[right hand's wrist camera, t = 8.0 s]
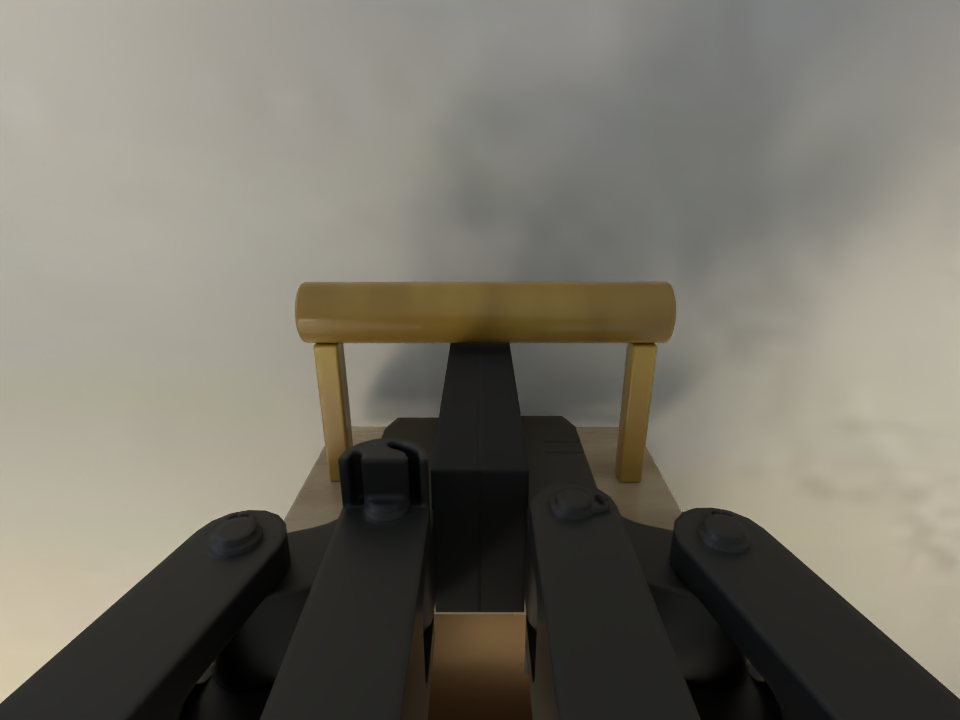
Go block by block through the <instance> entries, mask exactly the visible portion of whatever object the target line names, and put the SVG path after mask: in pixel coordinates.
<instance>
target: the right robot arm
mask: <svg viewBox="0 0 960 720" xmlns="http://www.w3.org/2000/svg"><path fill="white" fill-rule="evenodd" d="M338 464H339V474H340V484H341V494H342V503H343V508H342V510H341V513H340V515H339V518H338V519H336V520H334V521H332V522H329V523H327V524H324V525H320V526H317V527H313V528H308V529H303V530H298V531H294V532H289V533H287V528H286V523H285V522H284V521H283V520H282V519H281V517H280V516H279V515H276V514H273V513H271V512H268V511H257V510H247V511H241V512H236V513H232V514H228V515H226V516H223V517H221V518H218V519H216V520H213V521H211V522H210V523H208V524H207V525H205V526H204V527H202V528H201V529H199V530H198V531H197V532H195V533H194V534H193V535H192V536H191V537H190V538H189V539H187V540H186V541H185V542H184V543H183V544H182V545H181V546H179V547H178V548H177V549H176V550H175V551H174V552H173V553H171V554H170V555H169V556H168V557H167V558H166V559H165V560H163V561H162V562H161V563H160V564H159V565H158V566H157V567H156V568H154V569H153V570H152V571H151V572H150V573H149V574H148V575H146V576H145V577H144V578H143V579H142V580H141V581H140V582H138V583H137V584H136V585H135V586H134V587H133V588H132V589H130V590H129V591H128V592H127V593H126V594H125V595H124V596H122V597H121V598H120V599H119V600H118V601H117V602H116V603H114V604H113V605H112V606H111V607H110V608H109V609H108V610H107V611H105V612H104V613H103V614H102V615H101V616H100V617H99V618H97V619H96V620H95V621H94V622H93V623H92V624H91V625H89V626H88V627H87V628H86V629H85V630H84V631H83V632H81V633H80V634H79V635H78V636H77V637H76V638H75V639H73V640H72V641H71V642H70V643H69V644H68V645H67V646H66V647H64V648H63V649H62V650H61V651H60V652H59V653H58V654H56V655H55V656H54V657H53V658H52V659H51V660H50V661H48V662H47V663H46V664H45V665H44V666H43V667H42V668H40V669H39V670H38V671H37V672H36V673H35V674H34V675H32V676H31V677H30V678H29V679H28V680H27V681H26V682H25V683H23V684H22V685H21V686H20V687H19V688H18V689H17V690H15V691H14V692H13V693H12V694H11V695H10V696H9V697H7V698H6V699H5V700H4V701H3V702H2V703H1V704H0V720H427V719H428V708H429V697H430V686H431V676H432V665H433V654H434V643H435V630H434V609H435V607H436V612H524V608H525V606H526V630H525V657H524V675H529V686H530V697H531V708H532V718H533V720H960V699H959V698H958V697H957V696H955V695H954V694H953V693H952V692H951V691H950V690H949V689H947V688H946V687H945V686H944V685H943V684H942V683H940V682H939V681H938V680H937V679H936V678H935V677H934V676H932V675H931V674H930V673H929V672H928V671H927V670H926V669H924V668H923V667H922V666H921V665H920V664H919V663H918V662H916V661H915V660H914V659H913V658H912V657H911V656H909V655H908V654H907V653H906V652H905V651H904V650H903V649H901V648H900V647H899V646H898V645H897V644H896V643H895V642H893V641H892V640H891V639H890V638H889V637H888V636H886V635H885V634H884V633H883V632H882V631H881V630H880V629H878V628H877V627H876V626H875V625H874V624H873V623H872V622H870V621H869V620H868V619H867V618H866V617H865V616H864V615H862V614H861V613H860V612H859V611H858V610H857V609H855V608H854V607H853V606H852V605H851V604H850V603H849V602H847V601H846V600H845V599H844V598H843V597H842V596H841V595H839V594H838V593H837V592H836V591H835V590H834V589H833V588H831V587H830V586H829V585H828V584H827V583H826V582H824V581H823V580H822V579H821V578H820V577H819V576H818V575H816V574H815V573H814V572H813V571H812V570H811V569H810V568H808V567H807V566H806V565H805V564H804V563H803V562H802V561H800V560H799V559H798V558H797V557H796V556H795V555H793V554H792V553H791V552H790V551H789V550H788V549H787V548H785V547H784V546H783V545H782V544H781V543H780V542H779V541H777V540H776V539H775V538H774V537H773V536H772V535H770V534H769V533H768V532H767V531H766V530H765V529H763V528H762V527H761V526H759V525H758V524H756V523H755V522H753V521H752V520H750V519H748V518H746V517H743V516H741V515H738V514H736V513H733V512H731V511H727V510H723V509H722V510H721V509H716V508H694V509H691V510H688V511H686V512H683V513H681V514H680V515H679V517H678V518H677V519H676V520H675V522H674V529H673V530H668V529H663V528H659V527H654V526H649V525H645V524H641V523H638V522H634V521H632V520H629V519H627V518H625V517H622V516H621V515H620V512H619V510H618V507H617V505H616V504H615V503H614V501H613V500H612V498H611V497H610V496H609V495H607V494H605V493H604V492H602V491H601V490H599V489H598V488H597V486H596V483H595V480H594V477H593V474H592V472H591V469H590V466H589V463H588V460H587V458H586V455H585V454H584V449H583V446H582V444H581V443H580V438H579V435H578V432H577V430H576V427H575V426H574V425H572V424H571V423H570V422H569V421H567V420H566V419H565V418H564V417H563V416H521V414H520V408H519V402H518V395H517V389H516V383H515V376H514V370H513V364H512V358H511V351H510V345H509V343H451V345H450V351H449V358H448V364H447V370H446V377H445V383H444V389H443V396H442V402H441V408H440V415H439V418H397V419H396V420H395V421H394V422H392V423H391V424H390V425H389V426H388V427H386V428H385V429H384V432H383V435H382V438H381V439H372V440H369V441H365V442H362V443H358V444H356V445H355V446H353V447H351V448H349V449H347V450H346V451H345V452H344V453H343V454H342V455H341V456H340V457H339V459H338Z"/></svg>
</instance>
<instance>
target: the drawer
mask: <svg viewBox="0 0 960 720" xmlns="http://www.w3.org/2000/svg"><path fill="white" fill-rule="evenodd" d="M295 319H296V325H297V330H298V333H299V335H300V338H301V339H302V340H303V341H304V342H306V343H316V344H315V345H314V354H315V362H316V371H317V379H318V387H319V396H320V404H321V413H322V421H323V429H324V438H325V447H324V448H323V450H322V452H321V454H320V456H319V458H318V459H317V461H316V463H315V465H314V467H313V469H312V470H311V472H310V474H309V476H308V478H307V480H306V481H305V483H304V485H303V487H302V489H301V490H300V492H299V494H298V496H297V498H296V500H295V501H294V503H293V505H292V507H291V509H290V511H289V512H288V514H287V516H286V518H285V520H284V522H285V523H286V528H287V533H289V532H294V531H298V530H303V529H308V528H313V527H317V526H320V525H324V524H327V523H329V522H332V521H334V520H336V519H338V518H339V515H340V513H341V510H342V508H343V503H342V494H341V484H340V474H339V464H338V459H339V457H340V456H341V455H342V454H343V453H344V452H345V451H346V450H347V449H349V448H351V447H353V446H355V445H356V444H358V443H362V442H365V441H369V440H372V439H381V438H382V435H383V432H384V429H385V428H386V427H351V418H350V408H349V398H348V388H347V378H346V367H345V357H344V347H343V343H627V353H626V363H625V373H624V383H623V393H622V403H621V413H620V424H619V427H576V430H577V432H578V435H579V438H580V443H581V444H582V446H583V449H584V454H585V455H586V458H587V460H588V463H589V466H590V469H591V472H592V474H593V477H594V480H595V483H596V486H597V488H598V489H599V490H601V491H602V492H604V493H605V494H607V495H609V496H610V497H611V498H612V500H613V501H614V503H615V504H616V505H617V507H618V510H619V512H620V515H621V516H622V517H625V518H627V519H629V520H632V521H634V522H638V523H641V524H645V525H649V526H654V527H659V528H663V529H668V530H673V529H674V522H675V520H676V519H677V518H678V517H679V515H680V514H681V513H682V512H681V510H680V509H679V507H678V505H677V503H676V501H675V499H674V497H673V496H672V494H671V492H670V490H669V488H668V486H667V484H666V483H665V481H664V479H663V477H662V475H661V473H660V471H659V470H658V468H657V466H656V464H655V462H654V460H653V458H652V457H651V455H650V453H649V451H648V449H647V447H646V446H645V445H646V436H647V428H648V420H649V411H650V403H651V395H652V386H653V378H654V370H655V361H656V353H657V345H656V344H655V343H665V342H667V341H668V340H669V339H670V338H671V336H672V333H673V330H674V326H675V319H676V301H675V295H674V291H673V288H672V286H671V285H670V284H669V283H667V282H305V283H303V284H301V285H300V287H299V289H298V292H297V296H296V302H295ZM434 630H435V643H434V654H433V665H432V676H431V686H430V697H429V708H428V719H427V720H533V718H532V708H531V697H530V686H529V675H524V657H525V630H526V606H525V608H524V612H436V607H435V609H434Z"/></svg>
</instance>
